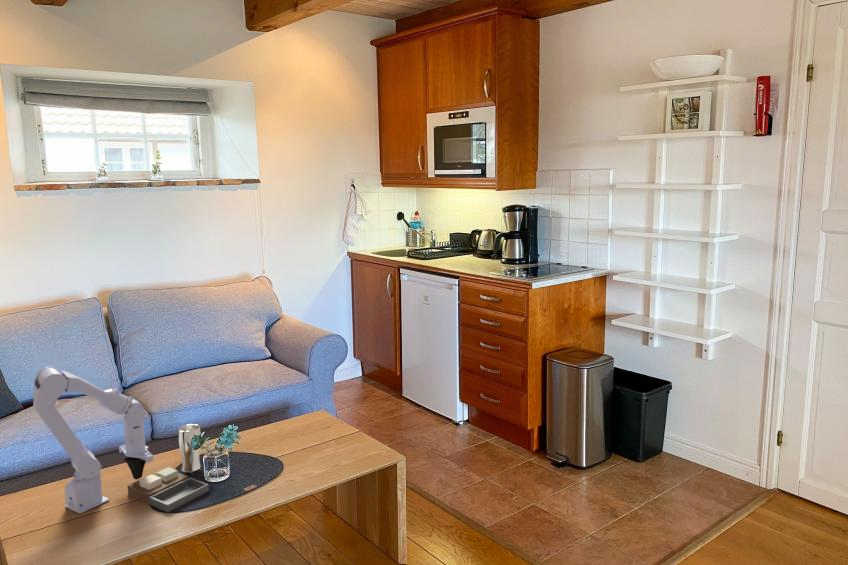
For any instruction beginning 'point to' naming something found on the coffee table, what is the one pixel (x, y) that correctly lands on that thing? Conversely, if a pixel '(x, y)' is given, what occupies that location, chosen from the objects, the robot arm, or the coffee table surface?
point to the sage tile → (167, 474)
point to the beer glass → (189, 447)
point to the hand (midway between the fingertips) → (137, 477)
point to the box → (178, 495)
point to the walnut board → (144, 493)
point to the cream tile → (150, 482)
